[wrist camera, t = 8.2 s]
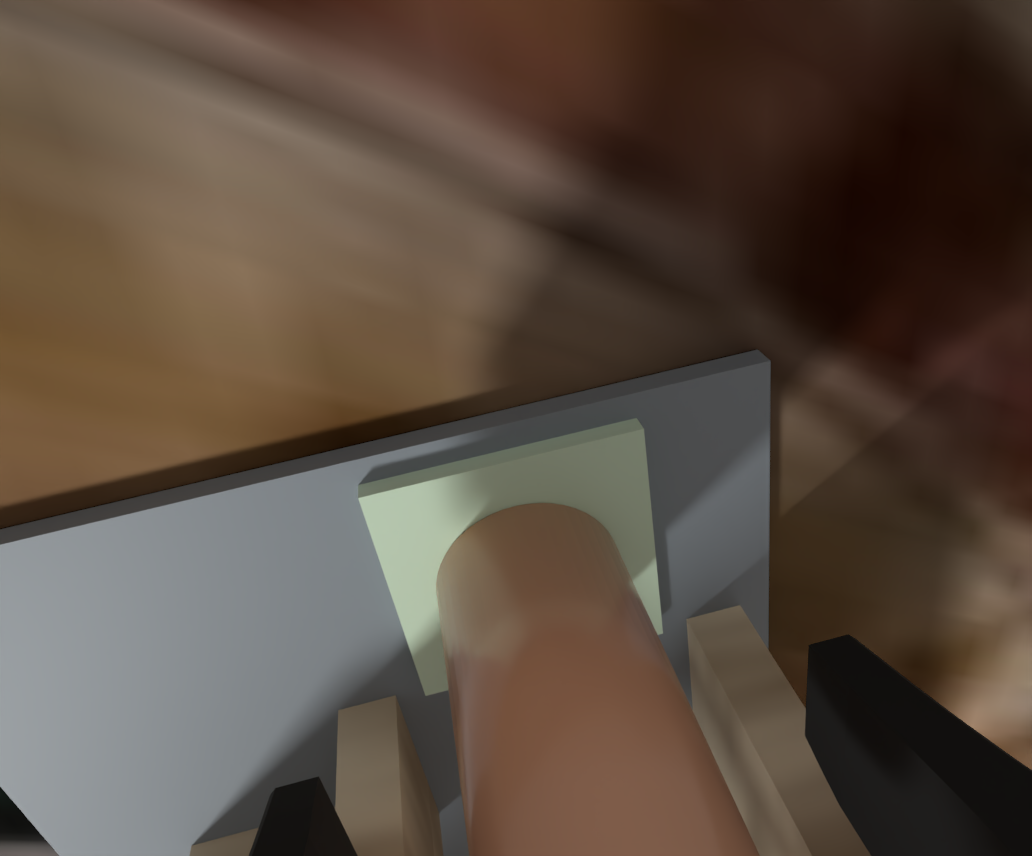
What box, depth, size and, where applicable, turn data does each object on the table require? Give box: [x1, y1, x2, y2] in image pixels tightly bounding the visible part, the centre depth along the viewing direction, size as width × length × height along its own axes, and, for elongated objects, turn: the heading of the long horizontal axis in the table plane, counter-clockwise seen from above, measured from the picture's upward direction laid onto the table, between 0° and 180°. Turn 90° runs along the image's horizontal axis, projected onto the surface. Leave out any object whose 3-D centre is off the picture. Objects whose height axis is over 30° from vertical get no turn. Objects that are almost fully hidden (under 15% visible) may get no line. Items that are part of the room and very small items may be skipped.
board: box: [0, 350, 771, 856], centre depth 18 cm, size 18×16×1 cm
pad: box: [358, 418, 663, 696], centre depth 14 cm, size 5×5×1 cm
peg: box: [436, 503, 760, 856], centre depth 11 cm, size 4×4×8 cm
